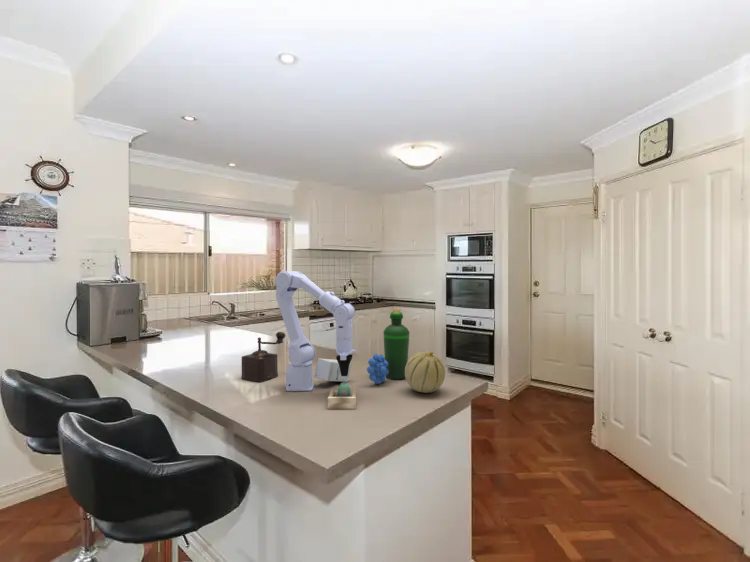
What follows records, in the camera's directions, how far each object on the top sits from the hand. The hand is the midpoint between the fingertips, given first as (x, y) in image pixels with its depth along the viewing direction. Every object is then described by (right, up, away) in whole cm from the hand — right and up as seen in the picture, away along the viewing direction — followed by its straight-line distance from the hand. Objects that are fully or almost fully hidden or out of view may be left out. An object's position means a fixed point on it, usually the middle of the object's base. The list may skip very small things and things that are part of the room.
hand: (344, 375), depth 145 cm
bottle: (+20, -6, +21) cm, 29 cm away
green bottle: (0, -4, -1) cm, 4 cm away
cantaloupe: (+29, -7, +2) cm, 30 cm away
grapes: (+13, -6, +11) cm, 18 cm away
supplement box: (-1, -2, +18) cm, 18 cm away
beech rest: (0, -7, -8) cm, 10 cm away
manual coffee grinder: (-34, -6, +22) cm, 41 cm away
